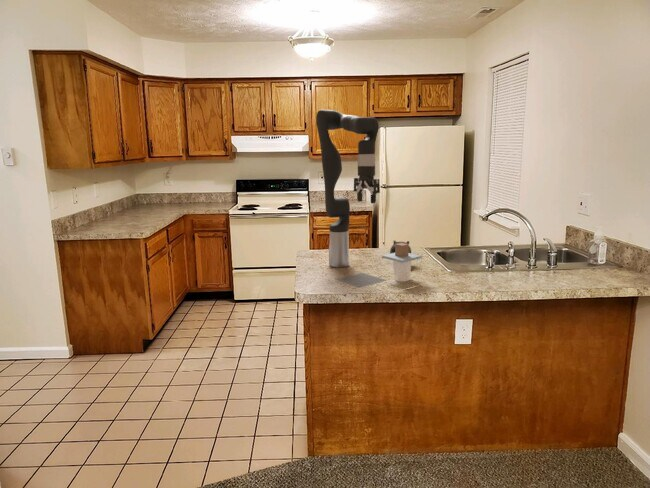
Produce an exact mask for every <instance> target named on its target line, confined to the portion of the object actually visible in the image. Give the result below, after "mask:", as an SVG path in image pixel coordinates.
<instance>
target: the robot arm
mask: <svg viewBox="0 0 650 488" xmlns="http://www.w3.org/2000/svg"><path fill="white" fill-rule="evenodd" d="M315 119H316V120H315V121H316V128H317V134H318V139H319V144H320V152H321V153H320V154H321V164H322V172H323V182H324V201H325V207H324V208H325V212H326V216H327V217H329V218H338V219H337V220H336V221H334V222H333V223H331V224H330V225H329V227H328V229H329V245H328V265H329V266H330V267H333V268H345V267H349V266H350V261H349V259H350V250H349V249H350V246H349V245H350V244H349V242H350V241H349V240H350V239H349V233H350V232H349V227H350V213H351V210H350V209H351V205H350V204H351V203H350V201H349V199H348V198H347V197H344V196H343V197H335V188H336V185H337V182H338V180H339V178H340V176H341V174H342V170H343V163H342V157H341V156H342V155H341V153H340V152H339V150H338V149H337V147H336V145H334V144H335V143H334V142H333V141H332V139H331V138H330V137H331V136H330V133H329V131H331V130H332V131H334V130H339V129H343V130H345V131H347V132H351V133H352V132H353V133H355V134H356V135H357V134H358V135H366V136H365V138H364V139H361V140H360V141H358V145H357V154H358V155H357V176H358V177H354V178H353V191H354V192H356V195H357V196H356V199H357V202H363V191H364V190H366V189H367V190H368V191H369V193H370V203H371V204H375V203H376V202H377V194H380V193H381V192H380V191H381V189H380V187H381V186H380V178H374V177H375V176H376V156H375V144H376V139H377V136H378V133H379V128H380V127H379V121H378V119H377V118H376V117H373V116H359V115H354V114H344V113H342V112H340V111H337V110H336V109H335V110H334V109H319V110H318V111H317V113H316V118H315Z"/></svg>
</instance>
